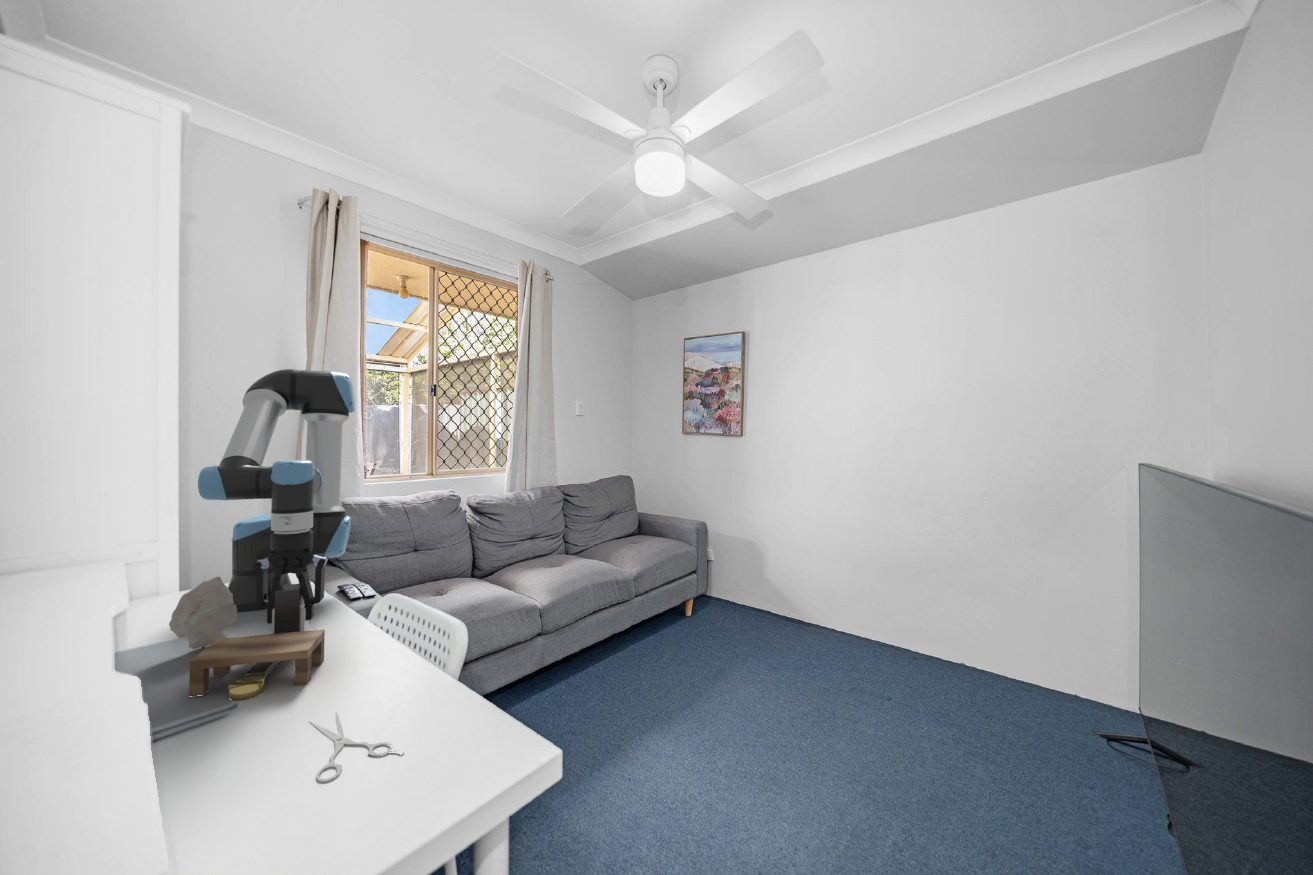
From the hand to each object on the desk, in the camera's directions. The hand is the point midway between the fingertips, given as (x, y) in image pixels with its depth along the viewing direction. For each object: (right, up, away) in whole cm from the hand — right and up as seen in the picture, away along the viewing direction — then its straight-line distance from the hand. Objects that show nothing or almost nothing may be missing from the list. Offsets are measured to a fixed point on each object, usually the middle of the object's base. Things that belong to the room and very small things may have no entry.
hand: (290, 635), depth 110 cm
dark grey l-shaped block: (+2, -1, -7) cm, 8 cm away
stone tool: (-17, -2, -2) cm, 18 cm away
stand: (+4, -3, -13) cm, 14 cm away
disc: (+6, -3, -19) cm, 20 cm away
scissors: (+32, -4, -32) cm, 45 cm away
